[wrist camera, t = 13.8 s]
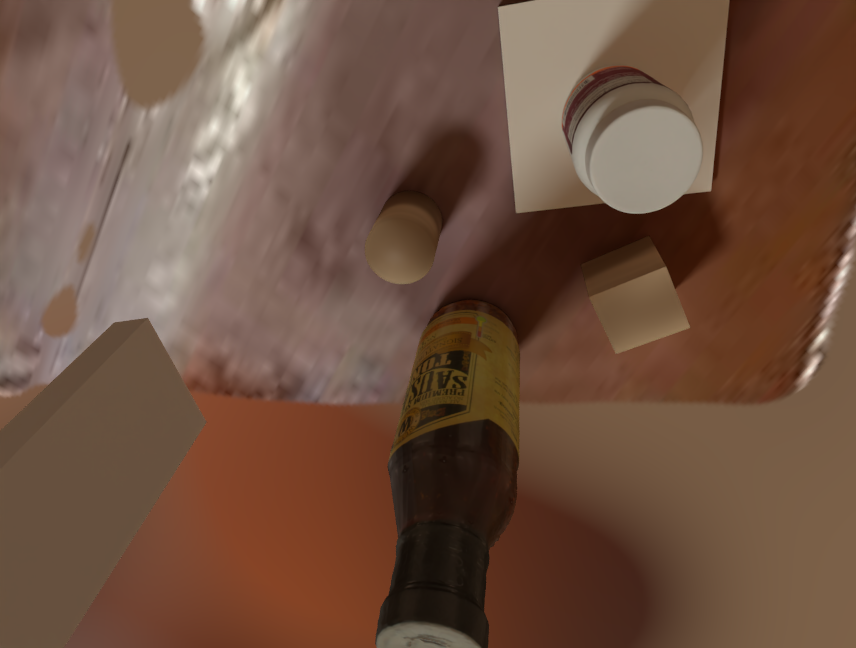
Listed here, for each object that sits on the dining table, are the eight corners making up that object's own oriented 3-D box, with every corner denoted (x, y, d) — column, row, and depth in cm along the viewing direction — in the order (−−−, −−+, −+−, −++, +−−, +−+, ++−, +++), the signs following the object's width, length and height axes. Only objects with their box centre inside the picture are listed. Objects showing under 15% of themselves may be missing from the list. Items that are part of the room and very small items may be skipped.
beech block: (580, 263, 33) (588, 297, 29) (648, 234, 31) (666, 266, 28) (605, 316, 34) (616, 354, 31) (671, 291, 33) (690, 327, 30)
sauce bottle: (466, 275, 34) (429, 569, 17) (539, 335, 35) (571, 658, 19) (400, 339, 37) (312, 643, 20) (470, 393, 39) (443, 714, 22)
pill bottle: (669, 143, 28) (724, 200, 21) (574, 176, 29) (596, 240, 22) (650, 45, 26) (705, 71, 19) (548, 85, 27) (564, 124, 20)
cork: (374, 195, 32) (357, 224, 28) (436, 187, 31) (427, 215, 27) (387, 252, 34) (373, 287, 30) (446, 246, 33) (439, 280, 29)
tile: (497, 6, 26) (498, 7, 26) (728, -36, 24) (732, -36, 24) (515, 209, 31) (515, 213, 31) (707, 187, 29) (711, 191, 29)
